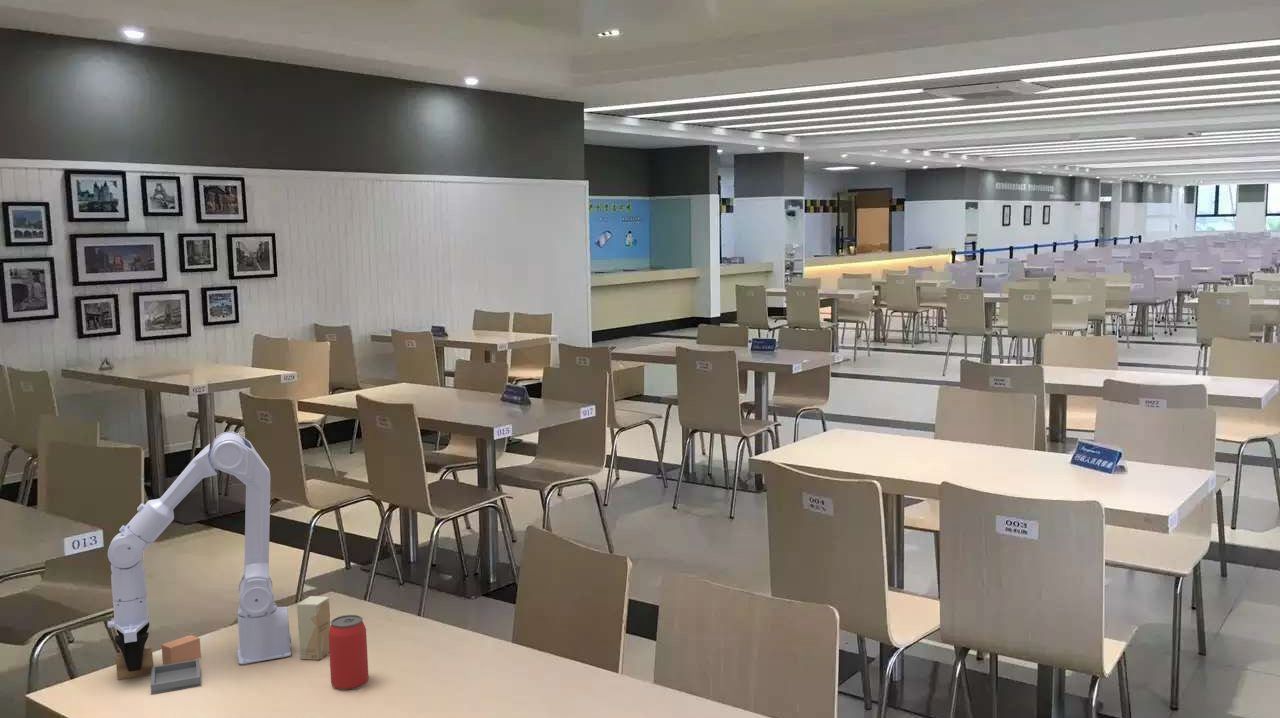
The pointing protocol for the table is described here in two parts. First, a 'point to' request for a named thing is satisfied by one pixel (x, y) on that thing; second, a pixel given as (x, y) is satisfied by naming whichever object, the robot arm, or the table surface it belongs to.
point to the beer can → (348, 652)
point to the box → (314, 627)
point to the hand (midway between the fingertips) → (135, 666)
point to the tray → (175, 676)
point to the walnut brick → (145, 670)
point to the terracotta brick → (181, 650)
